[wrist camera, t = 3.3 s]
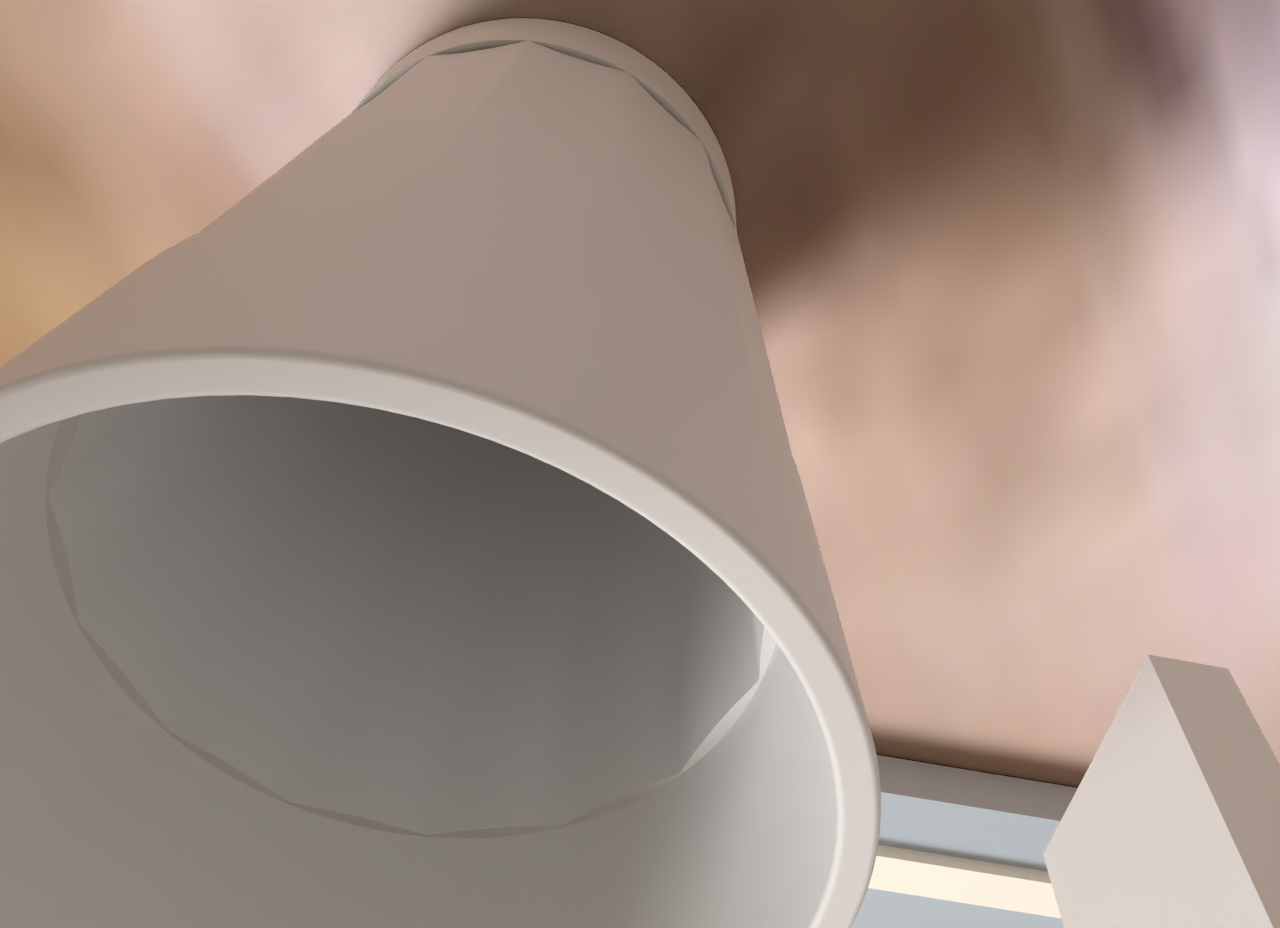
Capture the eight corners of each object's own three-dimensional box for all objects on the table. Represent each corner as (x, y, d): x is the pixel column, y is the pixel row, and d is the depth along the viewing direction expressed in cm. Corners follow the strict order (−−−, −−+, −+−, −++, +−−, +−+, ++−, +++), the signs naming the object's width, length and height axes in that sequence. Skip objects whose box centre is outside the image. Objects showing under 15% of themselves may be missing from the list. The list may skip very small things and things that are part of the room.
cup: (629, -160, 16) (490, 96, 6) (872, 320, 20) (1043, 987, 10) (176, 126, 18) (-467, 653, 8) (467, 507, 22) (260, 1198, 12)
